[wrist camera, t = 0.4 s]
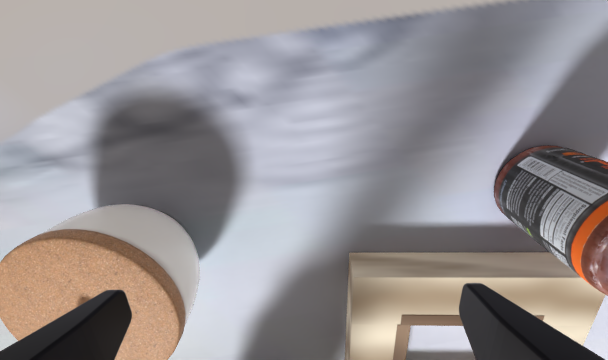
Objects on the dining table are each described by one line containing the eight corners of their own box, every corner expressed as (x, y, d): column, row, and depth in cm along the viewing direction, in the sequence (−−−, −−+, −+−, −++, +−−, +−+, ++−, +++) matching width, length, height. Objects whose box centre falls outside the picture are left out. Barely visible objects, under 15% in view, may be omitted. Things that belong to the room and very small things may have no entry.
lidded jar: (123, 302, 27) (32, 417, 18) (61, 197, 23) (-91, 279, 14) (235, 282, 26) (196, 396, 17) (190, 168, 22) (109, 239, 13)
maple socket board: (521, 401, 30) (542, 436, 27) (343, 398, 31) (346, 432, 28) (577, 252, 24) (613, 278, 21) (349, 252, 24) (354, 277, 21)
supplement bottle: (595, 158, 21) (883, 257, 10) (543, 228, 23) (737, 369, 12) (520, 130, 20) (743, 205, 10) (473, 204, 22) (616, 332, 12)
